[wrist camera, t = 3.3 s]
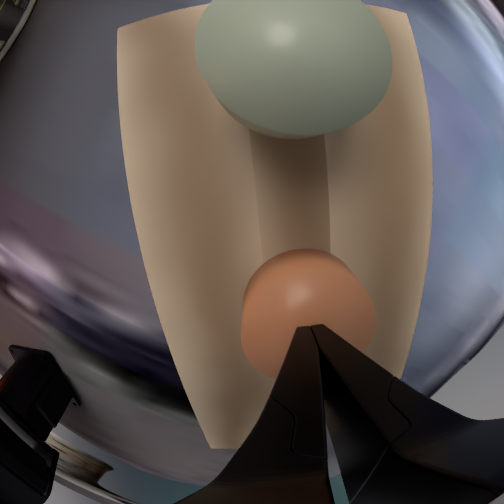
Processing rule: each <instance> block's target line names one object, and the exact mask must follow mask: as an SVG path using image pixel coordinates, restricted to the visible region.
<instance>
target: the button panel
mask: <svg viewBox="0 0 504 504" xmlns="http://www.w3.org/2000/svg"><path fill="white" fill-rule="evenodd" d="M208 5H209V4H204V5H199V6H193V7H189V8H184V9H180V10H175V11H171V12H167V13H164V14H160V15H156V16H153V17H150V18H146V19H143V20H140V21H137V22H134V23H131V24H128V25H126V26H123V27H120V28H118V33H117V79H118V100H119V115H120V126H121V136H122V145H123V154H124V161H125V169H126V175H127V182H128V188H129V194H130V200H131V205H132V211H133V216H134V221H135V226H136V230H137V235H138V240H139V244H140V248H141V253H142V257H143V261H144V265H145V269H146V273H147V277H148V280H149V284H150V288H151V291H152V295H153V298H154V302H155V305H156V309H157V312H158V315H159V318H160V322H161V325H162V328H163V331H164V334H165V337H166V340H167V343H168V346H169V349H170V352H171V354H172V357H173V360H174V363H175V365H176V368H177V371H178V373H179V376H180V379H181V381H182V384H183V386H184V389H185V391H186V394H187V396H188V399H189V401H190V403H191V406H192V408H193V410H194V413H195V415H196V417H197V420H198V422H199V424H200V426H201V428H202V431H203V433H204V435H205V437H206V439H207V441H208V443H209V445H210V447H211V448H220V449H238V448H240V446H241V445H242V444H243V442H244V441H245V439H246V438H247V436H248V435H249V433H250V432H251V430H252V429H253V427H254V425H255V424H256V422H257V420H258V418H259V416H260V414H261V412H262V410H263V408H264V406H265V404H266V402H267V399H268V398H269V395H270V393H271V390H272V388H273V386H274V383H275V381H276V379H273V378H271V377H269V376H266V375H265V374H263V373H261V372H260V371H259V370H257V369H256V368H255V367H254V366H253V365H252V364H251V363H250V362H249V360H248V359H247V357H246V356H245V353H244V351H243V348H242V344H241V322H242V308H243V296H244V292H245V289H246V286H247V284H248V282H249V280H250V278H251V277H252V275H253V274H254V273H255V271H256V270H257V269H258V268H259V267H260V266H261V265H262V264H264V263H265V262H266V261H268V260H269V259H271V258H272V257H274V256H276V255H278V254H281V253H283V252H286V251H290V250H294V249H304V248H310V249H318V250H322V251H325V252H328V253H331V254H332V255H334V256H336V257H338V258H339V259H340V260H342V261H343V262H344V263H345V264H346V265H347V266H348V268H349V269H350V270H351V272H352V273H353V274H354V276H355V277H356V278H357V279H358V281H359V282H360V283H361V285H362V286H363V287H364V289H365V290H366V291H367V293H368V294H369V296H370V297H371V299H372V302H373V304H374V307H375V312H376V326H375V330H374V334H373V336H372V339H371V341H370V343H369V345H368V347H367V348H366V350H365V351H364V352H363V353H364V354H365V355H366V356H368V357H369V358H371V359H372V360H373V361H375V362H376V363H377V364H379V365H380V366H382V367H383V368H384V369H386V370H387V371H389V372H390V373H391V374H393V377H394V376H396V377H397V378H399V379H401V376H402V373H403V370H404V367H405V364H406V361H407V357H408V354H409V350H410V347H411V343H412V339H413V335H414V331H415V327H416V323H417V318H418V314H419V309H420V304H421V299H422V294H423V288H424V282H425V276H426V269H427V261H428V253H429V244H430V233H431V219H432V194H433V171H432V146H431V133H430V122H429V113H428V105H427V98H426V92H425V86H424V80H423V75H422V70H421V65H420V61H419V56H418V52H417V48H416V44H415V40H414V37H413V33H412V30H411V27H410V23H409V20H408V17H407V14H406V13H403V12H400V11H396V10H392V9H387V8H383V7H378V6H373V5H368V4H365V5H366V6H367V7H368V8H369V9H370V10H371V12H372V13H373V14H374V15H375V17H376V18H377V19H378V21H379V22H380V24H381V26H382V27H383V29H384V31H385V33H386V35H387V38H388V41H389V44H390V47H391V52H392V61H393V69H392V76H391V81H390V84H389V87H388V90H387V92H386V94H385V96H384V98H383V99H382V100H381V102H380V103H379V104H378V106H377V107H376V108H375V109H374V110H373V111H372V112H371V113H370V114H368V115H367V116H366V117H364V118H363V119H362V120H360V121H358V122H356V123H354V124H352V125H350V126H348V127H345V128H342V129H340V130H336V131H333V132H329V133H325V134H322V135H318V136H314V137H310V138H304V139H280V138H274V137H270V136H266V135H263V134H260V133H257V132H255V131H253V130H251V129H249V128H247V127H245V126H244V125H242V124H241V123H239V122H238V121H236V120H235V119H234V118H233V117H232V116H230V115H229V113H228V112H227V111H226V110H225V109H224V108H223V107H222V105H221V104H220V102H219V101H218V100H217V98H216V97H215V95H214V94H213V92H212V91H211V89H210V88H209V86H208V85H207V83H206V82H205V80H204V78H203V76H202V74H201V72H200V70H199V67H198V64H197V61H196V56H195V34H196V28H197V26H198V23H199V20H200V18H201V16H202V14H203V12H204V11H205V9H206V8H207V6H208Z"/></svg>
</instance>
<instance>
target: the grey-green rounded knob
mask: <svg viewBox="0 0 504 504" xmlns="http://www.w3.org/2000/svg"><path fill="white" fill-rule="evenodd" d="M195 56H196V61H197V64H198V67H199V70H200V72H201V74H202V76H203V78H204V80H205V82H206V83H207V85H208V86H209V88H210V89H211V91H212V92H213V94H214V95H215V97H216V98H217V100H218V101H219V102H220V104H221V105H222V107H223V108H224V109H225V110H226V111H227V112H228V113H229V115H230V116H232V117H233V118H234V119H235V120H236V121H238V122H239V123H241V124H242V125H244V126H245V127H247V128H249V129H251V130H253V131H255V132H257V133H260V134H263V135H266V136H270V137H274V138H280V139H304V138H310V137H314V136H318V135H322V134H325V133H329V132H333V131H336V130H340V129H342V128H345V127H348V126H350V125H352V124H354V123H356V122H358V121H360V120H362V119H363V118H364V117H366V116H367V115H368V114H370V113H371V112H372V111H373V110H374V109H375V108H376V107H377V106H378V104H379V103H380V102H381V100H382V99H383V98H384V96H385V94H386V92H387V90H388V87H389V84H390V81H391V76H392V69H393V61H392V52H391V47H390V44H389V41H388V38H387V35H386V33H385V31H384V29H383V27H382V26H381V24H380V22H379V21H378V19H377V18H376V17H375V15H374V14H373V13H372V12H371V10H370V9H369V8H368V7H367V6H366V5H365V4H364V3H363V2H362V1H360V0H212V1H211V3H210V4H209V5H208V6H207V8H206V9H205V11H204V12H203V14H202V16H201V18H200V20H199V23H198V26H197V28H196V34H195Z"/></svg>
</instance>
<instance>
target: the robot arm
mask: <svg viewBox="0 0 504 504" xmlns="http://www.w3.org/2000/svg"><path fill="white" fill-rule="evenodd" d="M9 351H10V353H11V355H12V356H13V358H14V360H15V362H14V363H13V365H12V366H11V367H10V368H9V369H8V370H7V372H6V373H5V374H4V375H3V377H2V378H1V379H0V504H43V503H45V501H46V500H47V499H48V497H49V496H50V493H51V490H52V486H53V481H54V476H55V471H56V467H57V462H58V458H59V452H58V451H57V450H55V449H53V448H52V447H50V446H49V445H48V444H47V443H46V442H44V441H46V440H47V438H48V436H49V434H50V432H51V430H52V429H53V428H55V427H56V426H57V424H58V422H59V420H60V419H61V417H62V415H63V413H64V412H65V410H66V408H67V406H68V405H69V406H72V407H76V408H79V407H80V405H81V403H80V401H79V400H78V398H77V397H76V395H75V394H74V392H73V391H72V389H71V388H70V386H69V385H68V383H67V381H66V380H65V378H64V377H63V375H62V373H61V372H60V370H59V368H58V367H57V365H56V363H55V361H54V360H53V358H52V356H51V355H50V354H49V353H48V352H46V351H41V350H36V349H30V348H25V347H20V346H15V345H10V346H9ZM326 424H327V428H328V431H329V434H330V438H331V441H332V444H333V448H334V451H335V455H336V458H337V462H338V465H339V469H340V472H341V476H342V479H343V483H344V486H345V489H346V493H347V497H348V500H349V504H504V418H501V419H493V420H475V419H470V418H467V417H465V416H463V415H461V414H459V413H457V412H455V411H453V410H451V409H449V408H447V407H445V406H443V405H441V404H440V403H438V402H436V401H434V400H432V399H430V398H428V397H427V396H425V395H423V394H421V393H420V392H418V391H416V390H415V389H413V388H412V387H410V386H409V385H407V384H406V383H404V382H403V381H401V380H400V379H399V378H397V377H396V376H394V377H393V374H391V373H390V372H389V371H387V370H386V369H384V368H383V367H382V366H380V365H379V364H377V363H376V362H375V361H373V360H372V359H371V358H369V357H368V356H366V355H365V354H364V353H362V352H361V351H360V350H358V349H357V348H355V347H354V346H353V345H351V344H350V343H349V342H347V341H346V340H344V339H343V338H342V337H340V336H339V335H338V334H336V333H335V332H334V331H332V330H331V329H329V328H328V327H327V326H325V325H324V324H316V325H311V326H300V327H297V328H296V330H295V332H294V335H293V338H292V340H291V343H290V346H289V348H288V351H287V353H286V356H285V359H284V361H283V364H282V366H281V369H280V371H279V373H278V376H277V378H276V381H275V383H274V386H273V388H272V390H271V393H270V395H269V398H268V399H267V402H266V404H265V406H264V408H263V410H262V412H261V414H260V416H259V418H258V420H257V422H256V424H255V425H254V427H253V429H252V430H251V432H250V433H249V435H248V436H247V438H246V439H245V441H244V442H243V444H242V445H241V446H240V448H239V449H238V451H237V452H236V453H235V455H234V456H233V457H232V459H231V460H230V462H229V463H228V464H227V466H226V467H225V468H224V469H223V471H222V472H221V473H220V474H219V475H218V476H217V477H216V478H215V479H214V480H213V481H212V482H211V483H210V484H208V485H207V486H205V487H204V488H202V489H200V490H198V491H197V492H195V493H193V494H191V495H189V496H187V497H186V498H184V499H182V500H180V501H178V502H176V503H174V504H335V502H334V498H333V494H332V489H331V485H330V480H329V471H328V461H327V460H328V452H327V435H326Z"/></svg>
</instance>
